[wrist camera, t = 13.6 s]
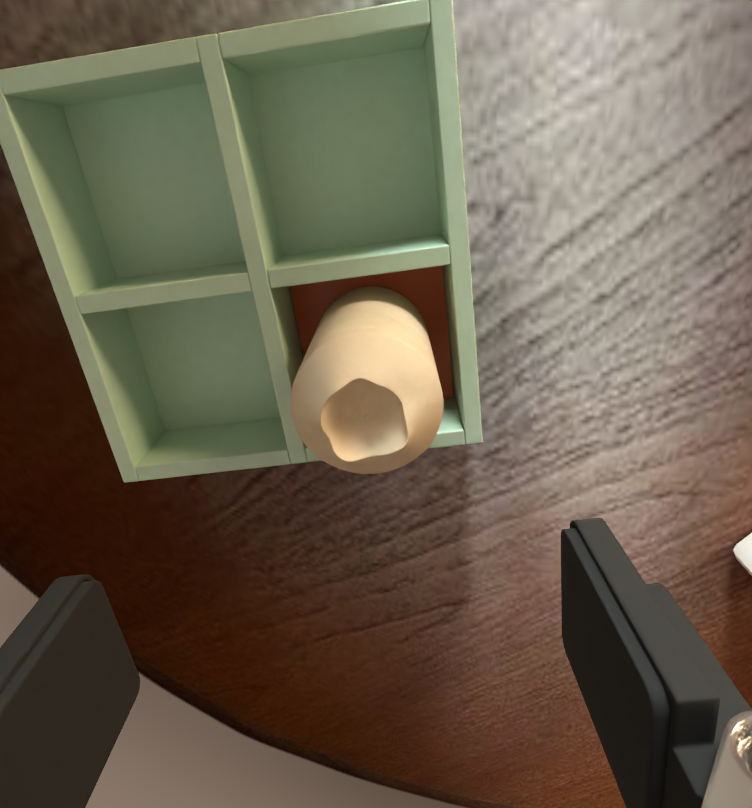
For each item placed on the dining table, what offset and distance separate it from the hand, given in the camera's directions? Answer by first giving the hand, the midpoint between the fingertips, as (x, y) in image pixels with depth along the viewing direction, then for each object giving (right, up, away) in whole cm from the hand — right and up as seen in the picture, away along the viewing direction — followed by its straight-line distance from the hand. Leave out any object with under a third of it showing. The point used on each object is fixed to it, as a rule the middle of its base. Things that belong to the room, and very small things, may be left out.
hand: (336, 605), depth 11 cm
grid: (-4, +11, +16) cm, 20 cm away
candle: (+1, +7, +17) cm, 18 cm away
